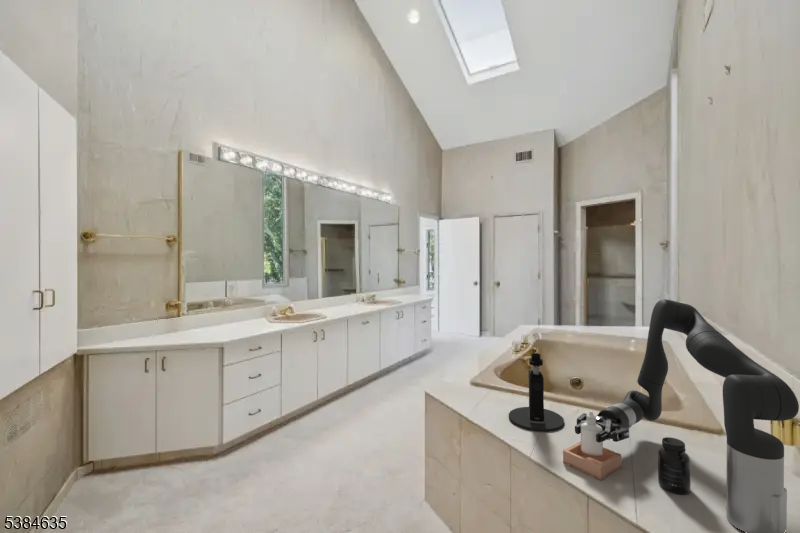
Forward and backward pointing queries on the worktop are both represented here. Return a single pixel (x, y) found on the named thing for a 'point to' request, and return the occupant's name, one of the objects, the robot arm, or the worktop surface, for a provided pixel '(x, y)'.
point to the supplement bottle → (674, 466)
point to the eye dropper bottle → (591, 436)
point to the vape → (536, 404)
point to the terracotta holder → (592, 461)
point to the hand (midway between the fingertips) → (586, 434)
